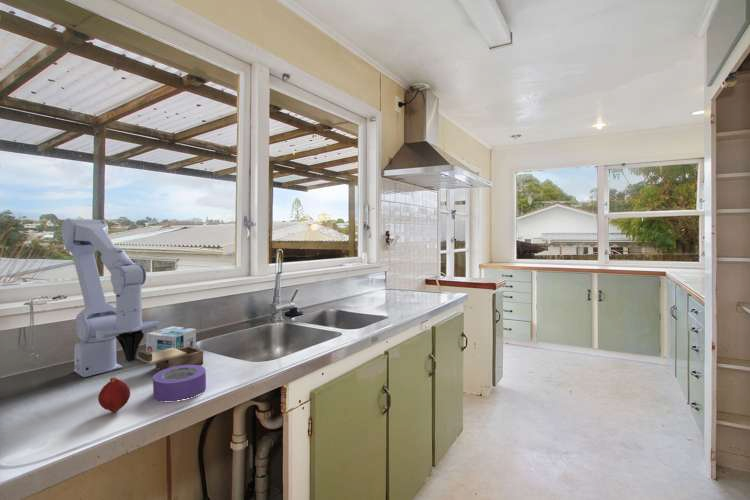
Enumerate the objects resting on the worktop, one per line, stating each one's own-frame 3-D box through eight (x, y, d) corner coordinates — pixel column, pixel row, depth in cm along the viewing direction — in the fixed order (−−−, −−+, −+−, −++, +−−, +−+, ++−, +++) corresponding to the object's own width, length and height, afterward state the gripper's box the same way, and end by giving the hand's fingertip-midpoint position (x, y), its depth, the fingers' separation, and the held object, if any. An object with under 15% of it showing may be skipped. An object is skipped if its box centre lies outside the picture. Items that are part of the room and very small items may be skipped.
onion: (109, 406, 87) (108, 371, 86) (135, 405, 87) (135, 371, 87) (92, 418, 81) (91, 382, 81) (121, 417, 82) (120, 381, 81)
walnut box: (169, 373, 106) (169, 359, 106) (155, 367, 111) (155, 354, 111) (203, 364, 114) (203, 351, 114) (189, 358, 119) (189, 346, 119)
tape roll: (178, 406, 87) (178, 385, 87) (141, 398, 91) (141, 377, 91) (216, 387, 98) (216, 368, 98) (182, 380, 103) (181, 362, 102)
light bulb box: (196, 328, 130) (172, 336, 120) (196, 347, 130) (172, 357, 120) (171, 325, 133) (144, 333, 123) (171, 344, 133) (145, 353, 123)
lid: (150, 364, 102) (149, 355, 102) (136, 358, 107) (136, 349, 107) (186, 354, 110) (186, 346, 110) (173, 349, 115) (172, 341, 115)
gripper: (103, 316, 93) (104, 371, 94) (164, 307, 105) (165, 355, 105) (92, 312, 97) (94, 364, 98) (152, 304, 109) (153, 350, 109)
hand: (130, 359), depth 102 cm, fingers closed
